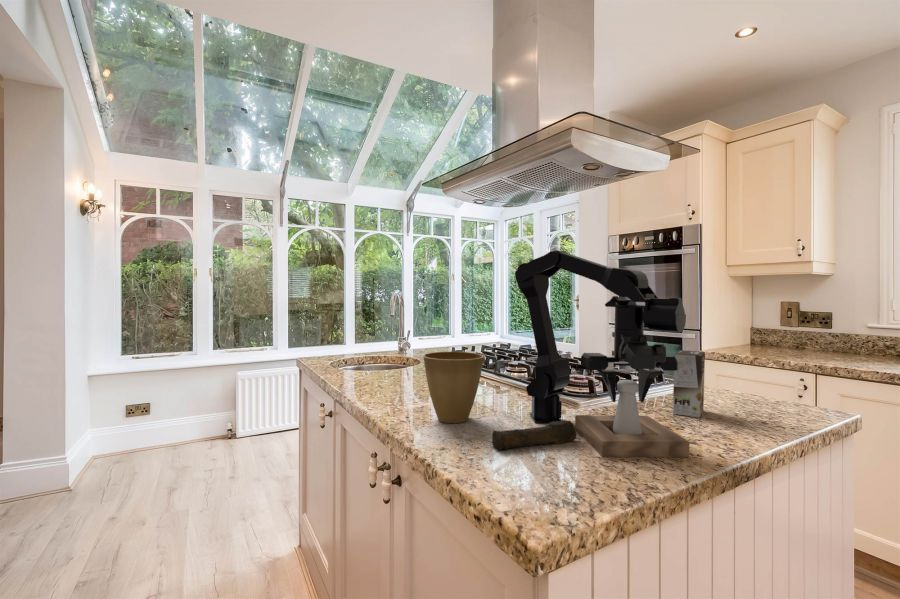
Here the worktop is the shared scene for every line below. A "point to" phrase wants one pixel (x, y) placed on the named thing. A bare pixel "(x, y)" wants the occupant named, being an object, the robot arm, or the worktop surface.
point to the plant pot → (453, 383)
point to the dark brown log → (535, 435)
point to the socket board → (631, 438)
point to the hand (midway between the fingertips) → (627, 401)
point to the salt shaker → (627, 409)
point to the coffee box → (689, 383)
